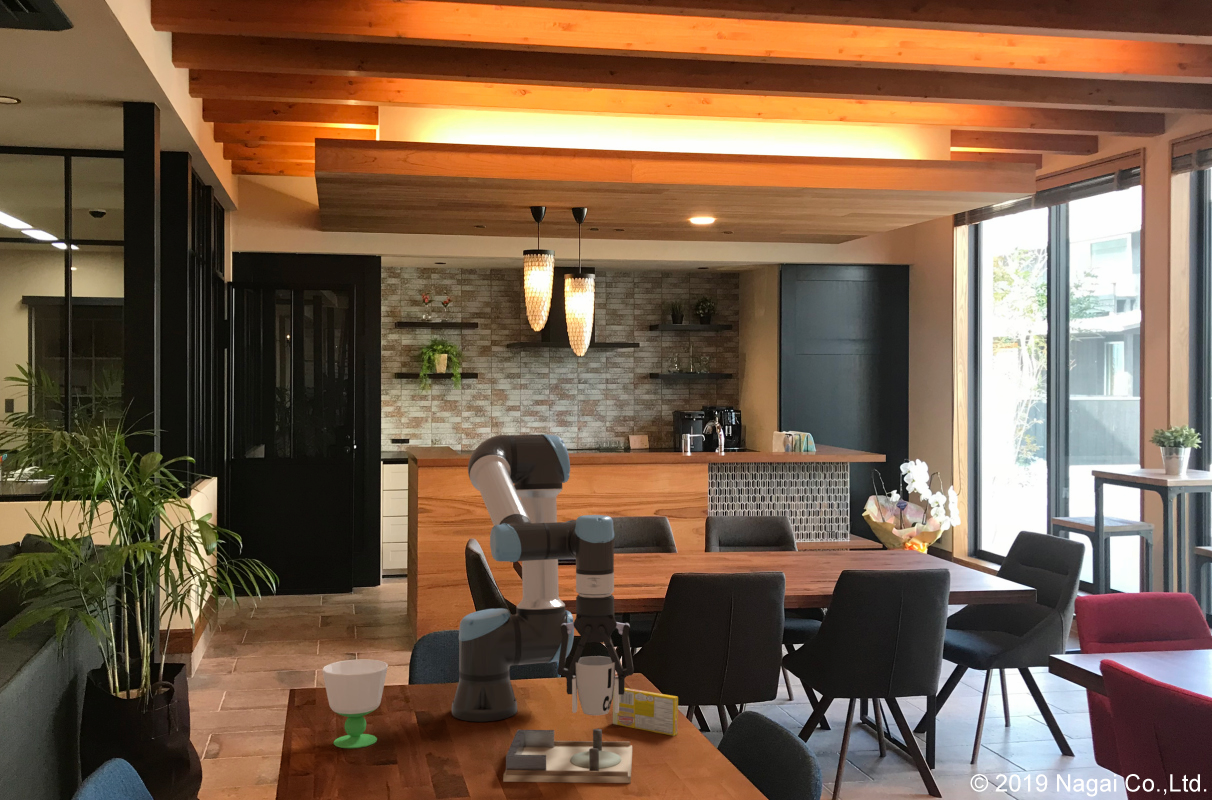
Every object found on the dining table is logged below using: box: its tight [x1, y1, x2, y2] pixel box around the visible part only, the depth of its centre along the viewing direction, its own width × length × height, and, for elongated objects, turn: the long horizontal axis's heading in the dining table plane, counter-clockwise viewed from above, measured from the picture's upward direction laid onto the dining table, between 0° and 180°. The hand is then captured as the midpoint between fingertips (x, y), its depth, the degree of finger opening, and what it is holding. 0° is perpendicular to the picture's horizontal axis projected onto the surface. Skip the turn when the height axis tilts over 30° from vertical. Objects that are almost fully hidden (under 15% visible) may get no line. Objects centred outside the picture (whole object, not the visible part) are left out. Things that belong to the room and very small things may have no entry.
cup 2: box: [574, 655, 616, 716], centre depth 198 cm, size 8×8×10 cm
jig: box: [502, 728, 633, 784], centre depth 198 cm, size 24×18×5 cm
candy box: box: [612, 686, 679, 737], centre depth 222 cm, size 16×2×8 cm, turn 55°
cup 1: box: [321, 658, 389, 749], centre depth 214 cm, size 14×14×16 cm
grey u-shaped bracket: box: [505, 729, 555, 770], centre depth 198 cm, size 8×16×3 cm, turn 178°
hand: (595, 710), depth 198 cm, fingers closed on cup 2, 8 cm apart
